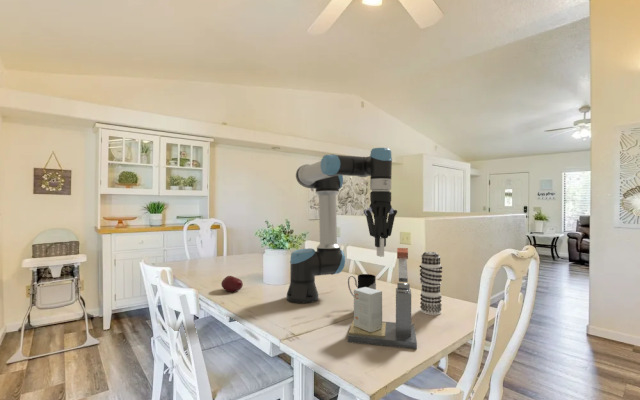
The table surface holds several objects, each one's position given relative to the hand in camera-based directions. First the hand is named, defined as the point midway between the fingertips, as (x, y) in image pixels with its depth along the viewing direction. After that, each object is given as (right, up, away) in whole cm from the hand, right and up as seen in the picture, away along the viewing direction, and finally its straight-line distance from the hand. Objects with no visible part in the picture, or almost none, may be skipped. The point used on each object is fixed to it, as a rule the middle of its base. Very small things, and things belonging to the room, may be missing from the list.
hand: (380, 255), depth 117 cm
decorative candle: (+25, -27, +20) cm, 42 cm away
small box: (-5, -25, -4) cm, 25 cm away
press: (0, -27, -5) cm, 27 cm away
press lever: (+9, -6, +3) cm, 11 cm away
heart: (-68, -27, +50) cm, 89 cm away
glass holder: (-4, -27, +22) cm, 35 cm away
